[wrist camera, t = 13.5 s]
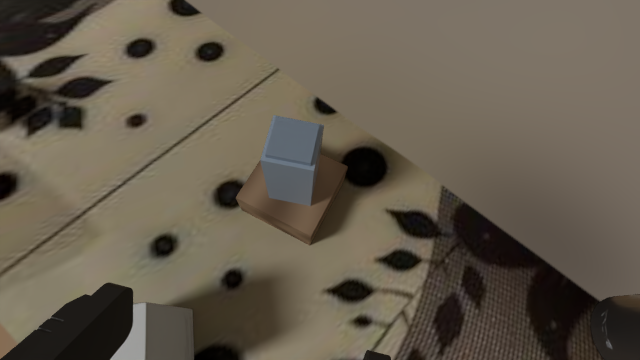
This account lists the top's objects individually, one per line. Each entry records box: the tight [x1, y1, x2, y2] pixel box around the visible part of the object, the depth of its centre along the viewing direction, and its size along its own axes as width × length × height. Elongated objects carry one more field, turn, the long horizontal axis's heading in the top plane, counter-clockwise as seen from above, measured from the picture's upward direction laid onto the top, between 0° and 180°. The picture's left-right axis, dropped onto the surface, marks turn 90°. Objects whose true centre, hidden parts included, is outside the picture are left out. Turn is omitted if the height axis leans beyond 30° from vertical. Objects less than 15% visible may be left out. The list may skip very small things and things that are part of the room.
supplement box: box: [110, 302, 194, 360], centre depth 32 cm, size 7×7×13 cm
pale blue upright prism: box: [260, 115, 324, 206], centre depth 36 cm, size 5×5×11 cm
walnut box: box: [236, 154, 348, 245], centre depth 44 cm, size 10×10×5 cm
